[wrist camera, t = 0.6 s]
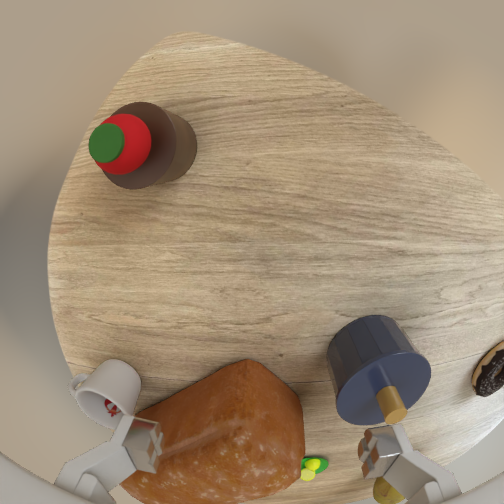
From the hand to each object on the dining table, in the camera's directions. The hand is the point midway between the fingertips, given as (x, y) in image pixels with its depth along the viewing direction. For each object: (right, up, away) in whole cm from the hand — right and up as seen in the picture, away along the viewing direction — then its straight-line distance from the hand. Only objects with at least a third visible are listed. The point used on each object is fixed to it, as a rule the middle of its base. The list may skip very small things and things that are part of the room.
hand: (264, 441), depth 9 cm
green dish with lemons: (+10, -32, +32) cm, 47 cm away
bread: (-7, -17, +28) cm, 33 cm away
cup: (-20, -10, +26) cm, 35 cm away
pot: (+14, -5, +23) cm, 28 cm away
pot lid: (+14, -7, +16) cm, 22 cm away
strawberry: (-10, +15, +10) cm, 21 cm away
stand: (-9, +18, +17) cm, 26 cm away
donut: (+42, -12, +25) cm, 51 cm away
